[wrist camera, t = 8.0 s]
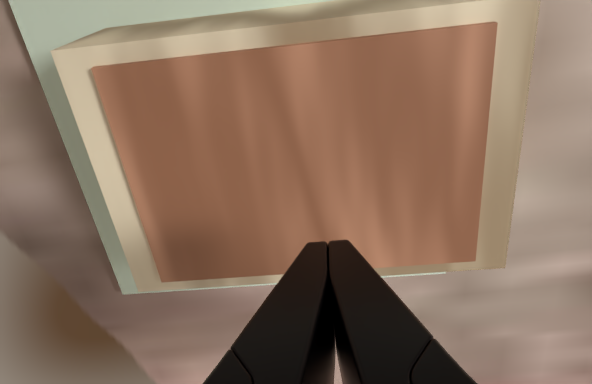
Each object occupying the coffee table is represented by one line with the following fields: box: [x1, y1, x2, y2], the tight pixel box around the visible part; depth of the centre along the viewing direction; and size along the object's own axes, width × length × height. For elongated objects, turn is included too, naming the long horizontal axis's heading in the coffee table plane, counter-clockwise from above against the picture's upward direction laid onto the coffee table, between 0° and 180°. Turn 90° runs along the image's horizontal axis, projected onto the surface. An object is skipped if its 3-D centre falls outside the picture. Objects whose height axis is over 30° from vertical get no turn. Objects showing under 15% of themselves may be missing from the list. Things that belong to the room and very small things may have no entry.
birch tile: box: [50, 0, 541, 292], centre depth 14 cm, size 4×8×12 cm
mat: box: [8, 0, 446, 295], centre depth 16 cm, size 14×14×1 cm
